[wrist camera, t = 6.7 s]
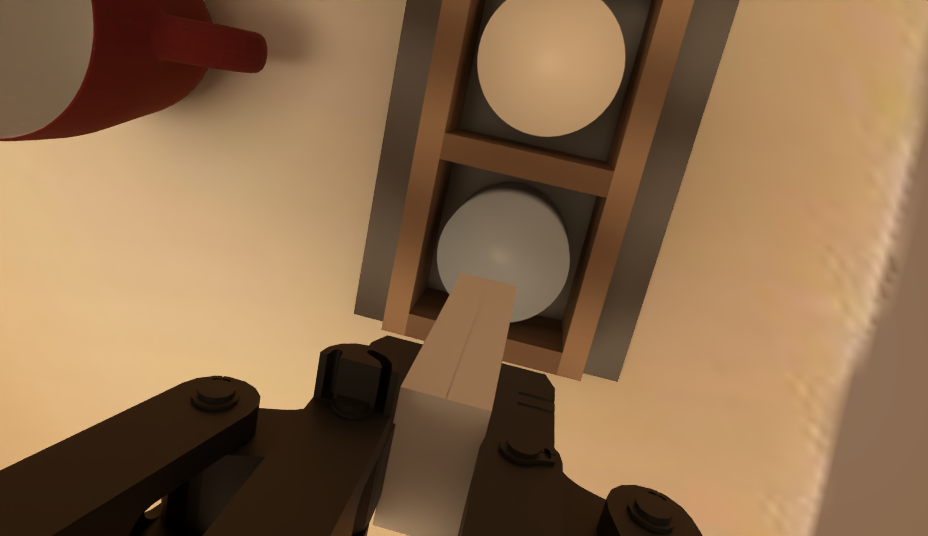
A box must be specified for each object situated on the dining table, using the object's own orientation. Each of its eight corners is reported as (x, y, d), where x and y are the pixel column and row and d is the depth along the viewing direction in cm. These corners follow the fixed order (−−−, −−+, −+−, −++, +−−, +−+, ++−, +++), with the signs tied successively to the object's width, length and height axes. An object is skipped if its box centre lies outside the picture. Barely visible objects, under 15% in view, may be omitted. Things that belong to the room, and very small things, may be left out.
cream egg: (502, -16, 24) (494, -32, 21) (632, 11, 24) (644, -2, 21) (474, 116, 26) (464, 119, 23) (596, 144, 25) (602, 150, 22)
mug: (309, -61, 26) (162, -155, 16) (314, 134, 28) (188, 154, 18) (82, -63, 27) (-178, -152, 17) (104, 123, 29) (-116, 135, 20)
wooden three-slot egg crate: (465, -336, 22) (446, -426, 18) (825, -277, 21) (884, -359, 17) (355, 311, 30) (326, 342, 26) (616, 378, 29) (626, 421, 25)
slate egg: (463, 170, 26) (451, 180, 23) (582, 198, 26) (585, 211, 23) (440, 282, 28) (425, 304, 25) (551, 309, 27) (550, 336, 24)
